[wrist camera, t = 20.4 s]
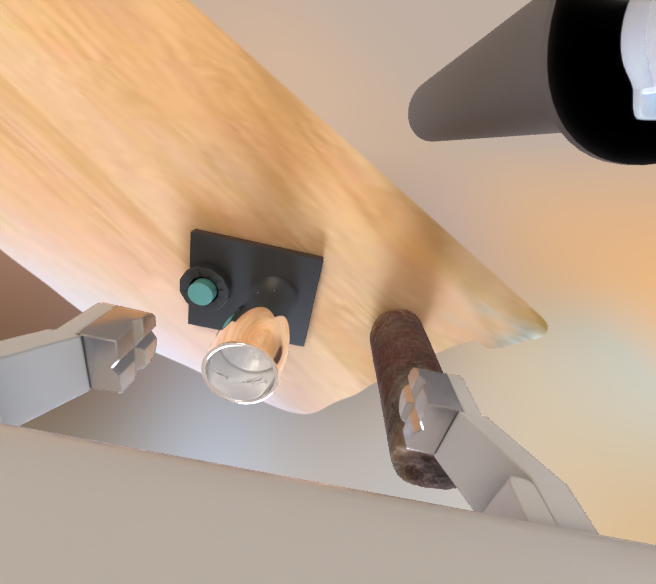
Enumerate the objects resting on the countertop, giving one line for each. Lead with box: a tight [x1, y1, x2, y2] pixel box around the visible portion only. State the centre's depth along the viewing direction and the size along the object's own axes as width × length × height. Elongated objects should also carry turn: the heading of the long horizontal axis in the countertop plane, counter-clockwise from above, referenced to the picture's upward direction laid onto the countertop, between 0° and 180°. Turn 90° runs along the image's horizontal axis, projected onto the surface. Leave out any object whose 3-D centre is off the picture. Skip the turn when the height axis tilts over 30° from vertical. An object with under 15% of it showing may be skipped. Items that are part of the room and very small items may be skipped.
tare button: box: [188, 278, 217, 305], centre depth 37 cm, size 3×3×2 cm
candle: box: [370, 310, 457, 490], centre depth 34 cm, size 8×7×20 cm
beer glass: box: [202, 276, 297, 404], centre depth 33 cm, size 7×7×15 cm
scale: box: [180, 229, 323, 346], centre depth 39 cm, size 16×13×3 cm
